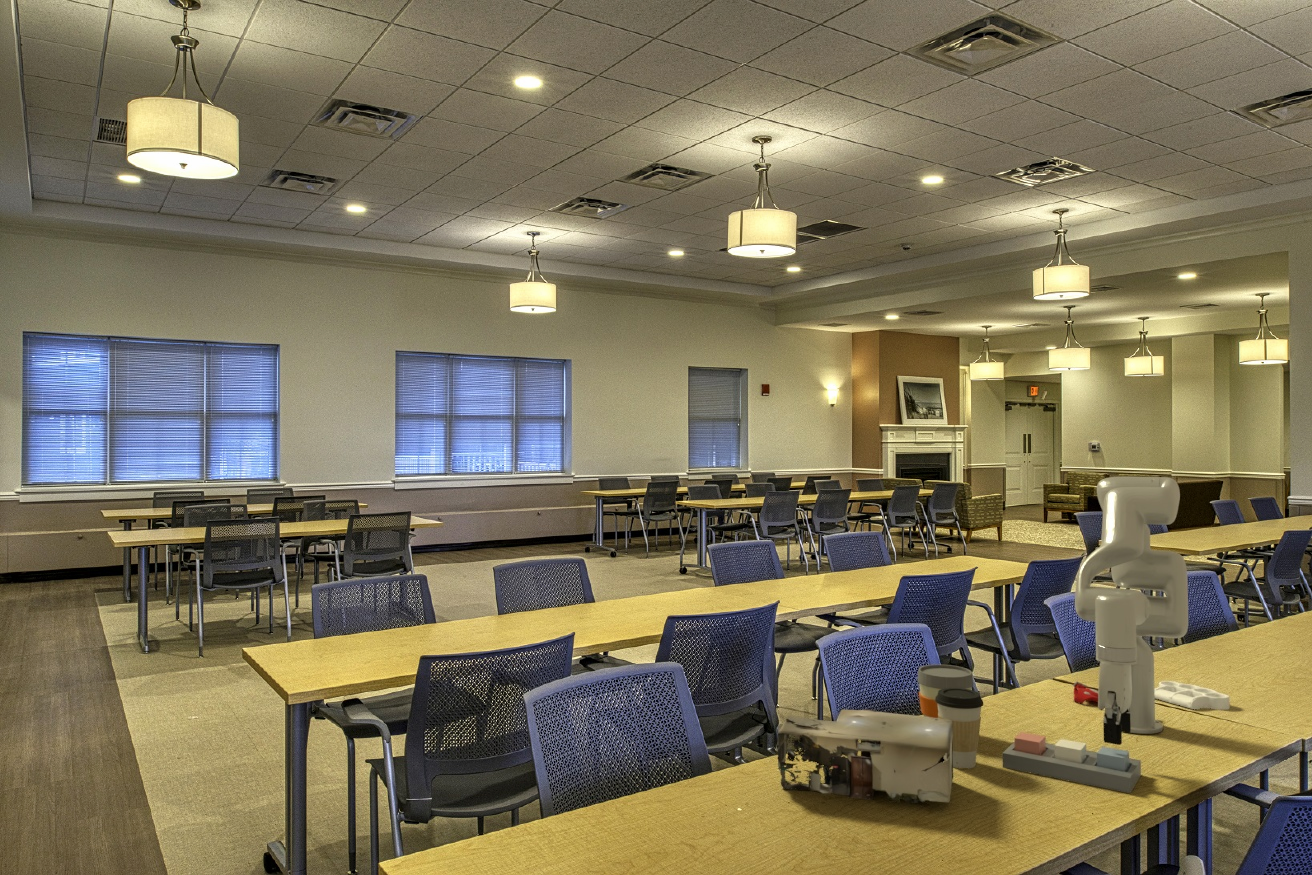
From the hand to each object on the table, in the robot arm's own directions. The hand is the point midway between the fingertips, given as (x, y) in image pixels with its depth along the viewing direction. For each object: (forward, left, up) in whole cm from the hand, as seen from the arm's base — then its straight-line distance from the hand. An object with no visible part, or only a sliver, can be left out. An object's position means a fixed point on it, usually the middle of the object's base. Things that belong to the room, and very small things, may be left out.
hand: (1117, 737), depth 182 cm
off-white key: (+5, -8, -6) cm, 11 cm away
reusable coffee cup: (-3, -37, -8) cm, 38 cm away
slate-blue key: (+5, 0, -6) cm, 7 cm away
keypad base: (+5, -8, -7) cm, 12 cm away
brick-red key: (+5, -16, -6) cm, 18 cm away
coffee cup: (+14, -28, -8) cm, 32 cm away
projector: (+39, -36, -8) cm, 54 cm away
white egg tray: (-68, +5, -8) cm, 68 cm away
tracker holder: (-54, -16, -8) cm, 57 cm away
